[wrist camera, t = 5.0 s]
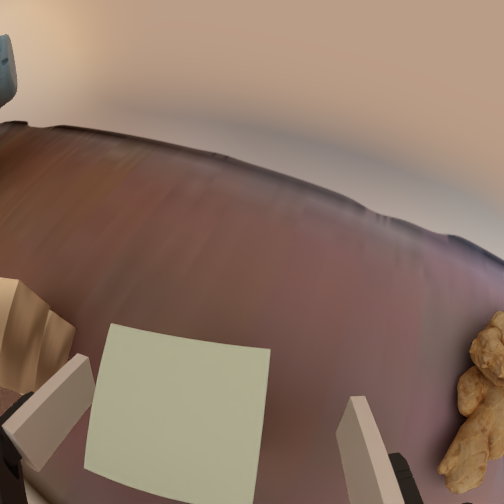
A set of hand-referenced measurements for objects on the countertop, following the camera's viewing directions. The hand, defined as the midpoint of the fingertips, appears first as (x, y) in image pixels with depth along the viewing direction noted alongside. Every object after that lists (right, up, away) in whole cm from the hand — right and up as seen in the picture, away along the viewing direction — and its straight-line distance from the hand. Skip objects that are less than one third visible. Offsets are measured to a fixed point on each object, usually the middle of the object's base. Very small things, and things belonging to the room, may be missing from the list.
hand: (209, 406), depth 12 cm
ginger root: (+23, -6, +4) cm, 24 cm away
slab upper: (-16, 0, +3) cm, 16 cm away
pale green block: (-1, -4, +5) cm, 6 cm away
